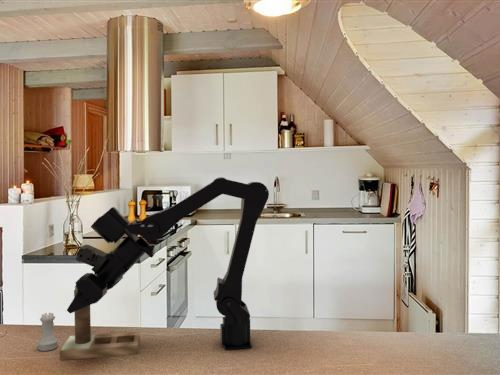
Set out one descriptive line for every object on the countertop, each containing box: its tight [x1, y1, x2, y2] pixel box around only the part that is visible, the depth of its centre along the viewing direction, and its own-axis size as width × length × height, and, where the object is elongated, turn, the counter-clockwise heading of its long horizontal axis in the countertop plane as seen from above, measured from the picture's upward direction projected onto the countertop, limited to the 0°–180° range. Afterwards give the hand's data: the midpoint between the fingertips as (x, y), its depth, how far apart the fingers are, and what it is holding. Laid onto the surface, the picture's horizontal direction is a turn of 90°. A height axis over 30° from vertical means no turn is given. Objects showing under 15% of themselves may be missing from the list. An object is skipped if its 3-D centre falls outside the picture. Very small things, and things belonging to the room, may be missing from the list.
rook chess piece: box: [37, 312, 59, 352], centre depth 100 cm, size 4×4×8 cm
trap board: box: [59, 331, 141, 361], centre depth 99 cm, size 16×9×2 cm, turn 101°
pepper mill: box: [73, 285, 92, 344], centre depth 98 cm, size 3×3×14 cm
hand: (75, 305), depth 98 cm, fingers open, 9 cm apart
